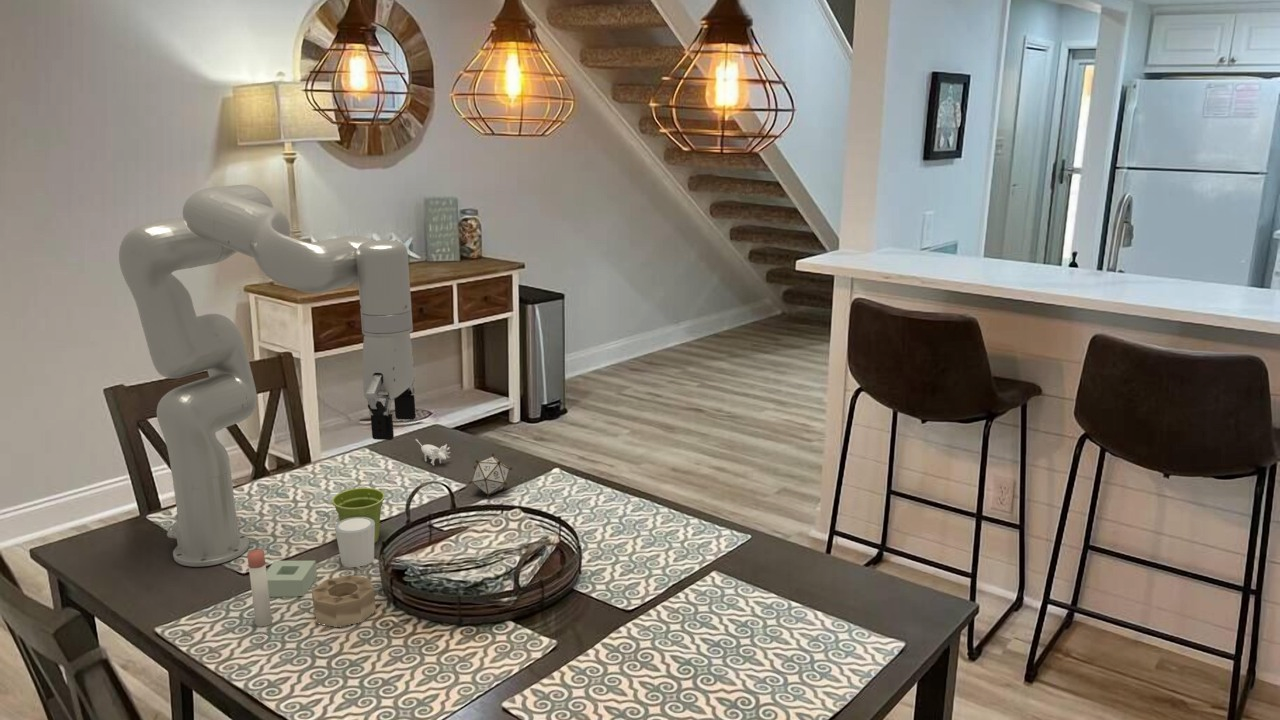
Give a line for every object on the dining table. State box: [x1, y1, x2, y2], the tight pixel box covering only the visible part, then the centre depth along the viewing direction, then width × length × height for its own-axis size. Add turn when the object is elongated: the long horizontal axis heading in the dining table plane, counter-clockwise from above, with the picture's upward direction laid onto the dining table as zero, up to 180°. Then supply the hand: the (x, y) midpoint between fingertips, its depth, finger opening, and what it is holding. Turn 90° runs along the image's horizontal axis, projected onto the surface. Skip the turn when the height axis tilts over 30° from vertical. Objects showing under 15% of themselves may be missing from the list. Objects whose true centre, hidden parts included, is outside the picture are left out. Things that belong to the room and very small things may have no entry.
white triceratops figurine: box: [415, 438, 451, 466], centre depth 218 cm, size 12×5×5 cm, turn 43°
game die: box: [467, 452, 514, 500], centre depth 200 cm, size 9×8×10 cm
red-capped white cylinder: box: [246, 548, 273, 628], centre depth 149 cm, size 2×2×12 cm
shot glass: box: [333, 517, 375, 568], centre depth 171 cm, size 7×7×7 cm
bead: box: [311, 574, 377, 628], centre depth 153 cm, size 9×9×4 cm
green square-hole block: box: [266, 560, 318, 598], centre depth 162 cm, size 7×7×3 cm
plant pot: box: [331, 487, 386, 544], centre depth 178 cm, size 9×9×9 cm
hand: (394, 428), depth 151 cm, fingers open, 9 cm apart
